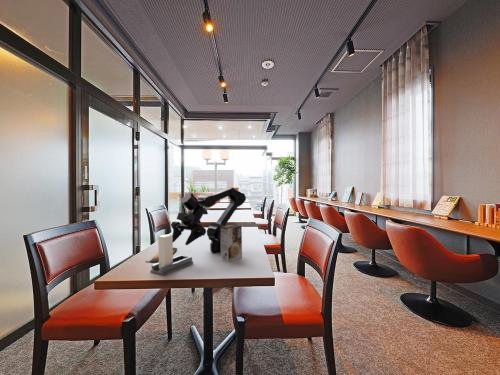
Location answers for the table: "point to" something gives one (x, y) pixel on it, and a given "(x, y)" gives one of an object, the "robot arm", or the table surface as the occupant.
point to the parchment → (156, 256)
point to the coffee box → (231, 242)
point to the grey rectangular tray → (173, 265)
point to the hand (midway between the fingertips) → (178, 243)
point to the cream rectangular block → (165, 250)
